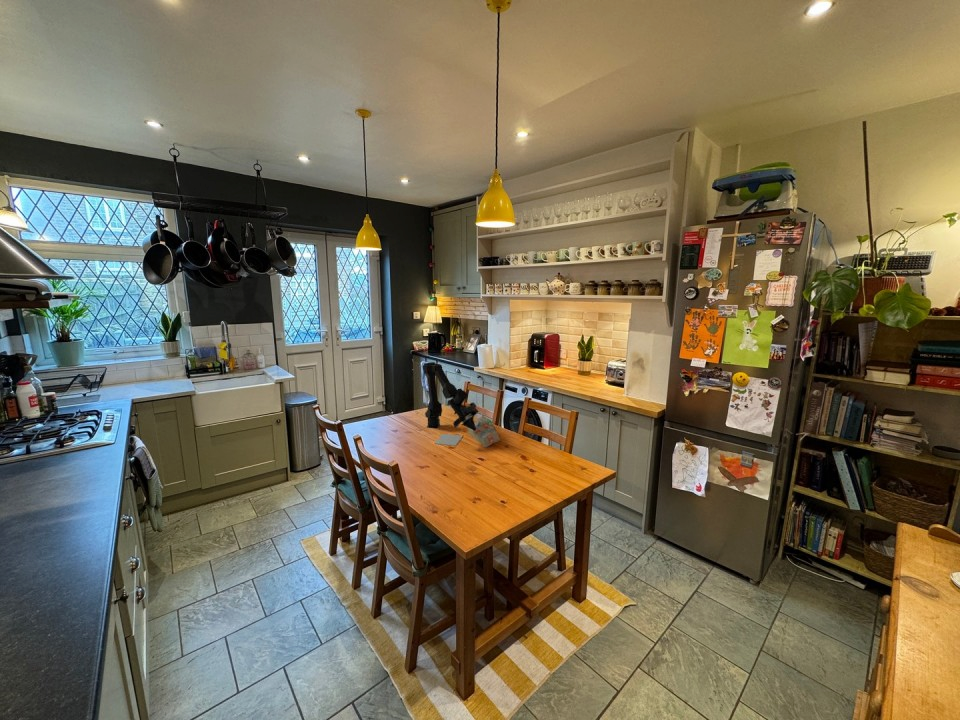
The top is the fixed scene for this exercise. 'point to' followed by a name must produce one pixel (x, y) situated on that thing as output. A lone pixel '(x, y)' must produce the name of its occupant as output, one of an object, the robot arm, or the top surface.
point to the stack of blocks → (484, 431)
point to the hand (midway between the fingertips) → (475, 430)
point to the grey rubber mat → (449, 439)
